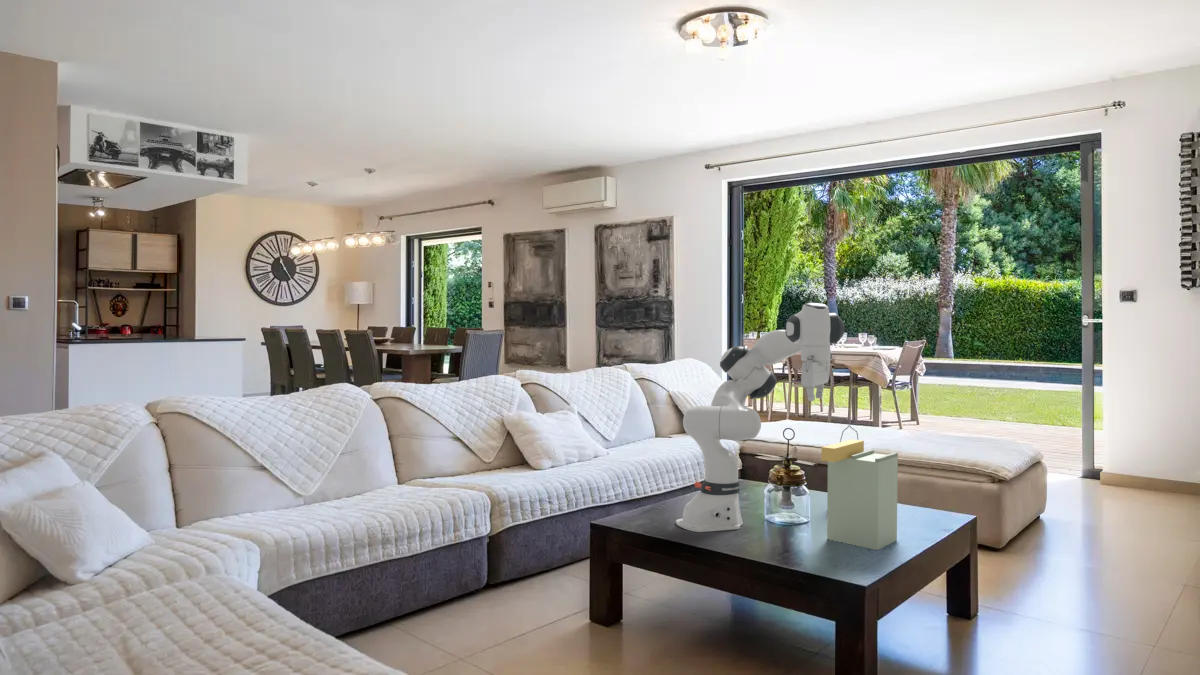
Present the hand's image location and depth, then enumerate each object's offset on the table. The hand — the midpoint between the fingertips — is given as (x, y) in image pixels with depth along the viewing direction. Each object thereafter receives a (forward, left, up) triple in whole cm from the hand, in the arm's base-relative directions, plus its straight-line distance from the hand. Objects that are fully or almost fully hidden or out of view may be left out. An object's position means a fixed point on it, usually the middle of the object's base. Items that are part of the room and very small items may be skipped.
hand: (815, 399), depth 241 cm
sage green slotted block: (+11, -9, -43) cm, 45 cm away
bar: (+5, -7, -17) cm, 19 cm away
